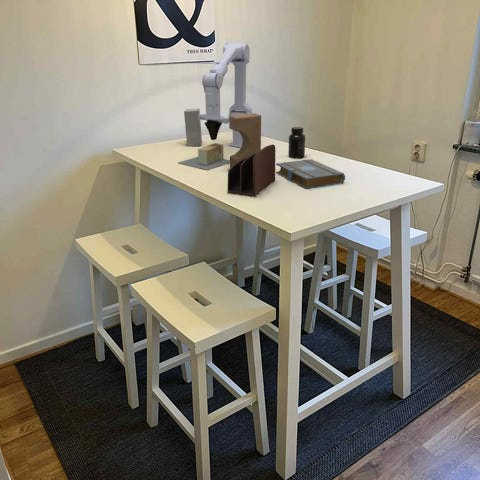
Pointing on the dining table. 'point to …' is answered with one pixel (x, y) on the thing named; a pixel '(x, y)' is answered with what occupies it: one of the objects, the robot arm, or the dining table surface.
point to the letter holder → (253, 173)
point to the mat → (194, 163)
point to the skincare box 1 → (193, 127)
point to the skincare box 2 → (210, 154)
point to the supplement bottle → (296, 143)
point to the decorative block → (246, 135)
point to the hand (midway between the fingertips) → (213, 139)
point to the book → (310, 174)
